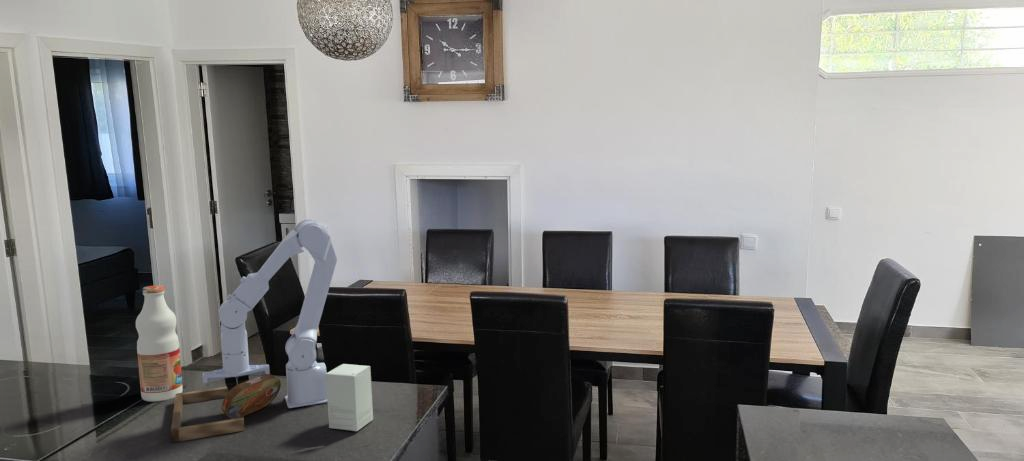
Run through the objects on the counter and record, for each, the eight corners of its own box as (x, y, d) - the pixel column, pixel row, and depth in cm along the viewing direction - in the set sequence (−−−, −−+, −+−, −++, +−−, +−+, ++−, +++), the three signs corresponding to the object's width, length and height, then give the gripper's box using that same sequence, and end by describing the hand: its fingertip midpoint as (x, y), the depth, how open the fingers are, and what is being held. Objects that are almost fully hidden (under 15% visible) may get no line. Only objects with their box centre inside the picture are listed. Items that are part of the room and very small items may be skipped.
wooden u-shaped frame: (240, 394, 176) (239, 384, 176) (244, 430, 153) (243, 419, 153) (176, 403, 171) (175, 393, 170) (171, 442, 148) (170, 431, 147)
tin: (224, 424, 157) (233, 395, 154) (215, 416, 158) (224, 387, 155) (276, 402, 170) (286, 375, 167) (267, 395, 171) (277, 367, 168)
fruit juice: (136, 396, 176) (126, 287, 173) (175, 386, 183) (166, 281, 179) (148, 405, 169) (138, 292, 166) (188, 395, 176) (180, 286, 173)
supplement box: (374, 419, 158) (371, 365, 157) (356, 432, 151) (354, 376, 150) (346, 415, 161) (343, 362, 159) (327, 428, 154) (324, 372, 152)
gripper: (266, 343, 169) (269, 397, 171) (201, 350, 164) (205, 406, 165) (268, 350, 163) (272, 406, 165) (200, 359, 157) (205, 417, 159)
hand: (238, 407), depth 164 cm, fingers closed
